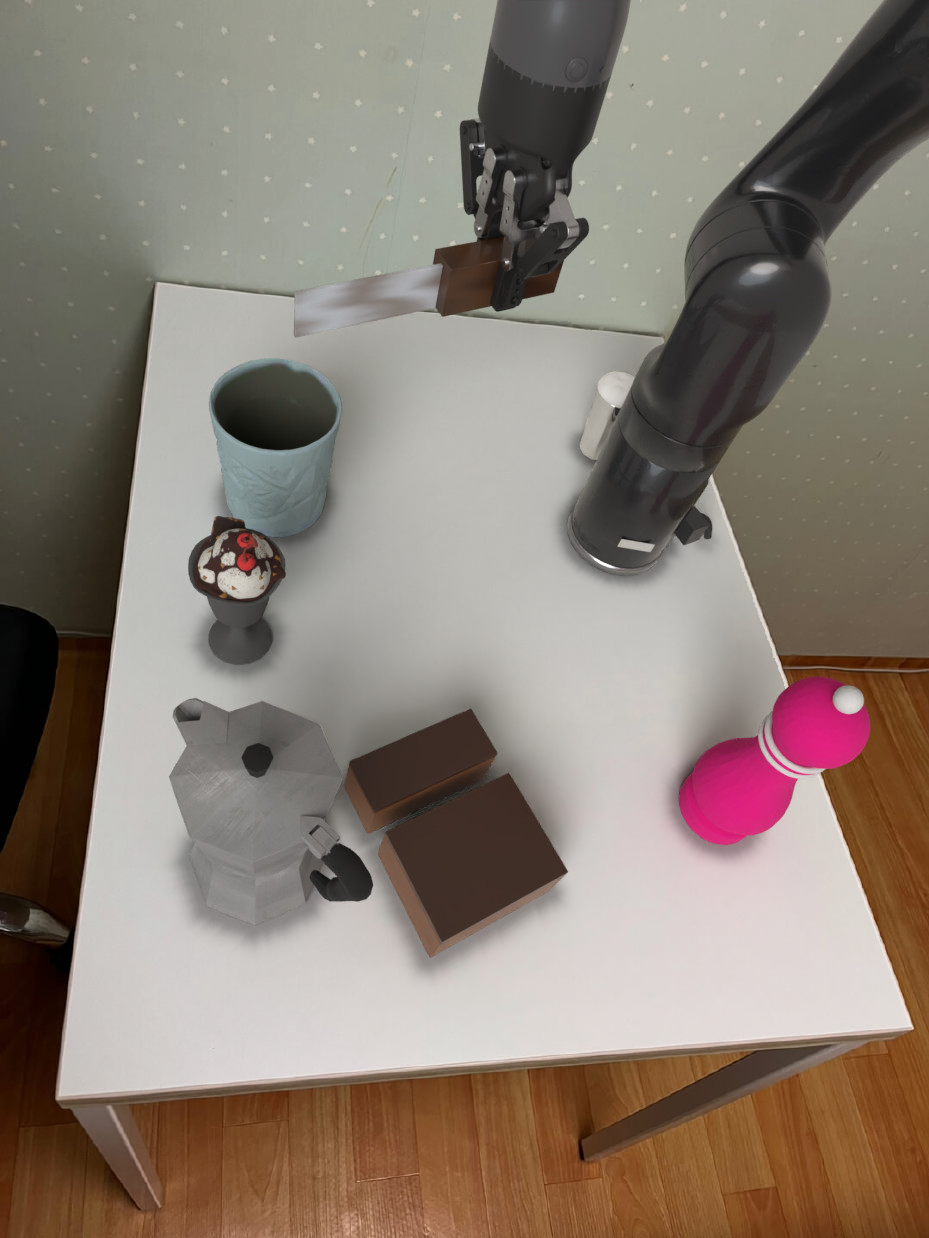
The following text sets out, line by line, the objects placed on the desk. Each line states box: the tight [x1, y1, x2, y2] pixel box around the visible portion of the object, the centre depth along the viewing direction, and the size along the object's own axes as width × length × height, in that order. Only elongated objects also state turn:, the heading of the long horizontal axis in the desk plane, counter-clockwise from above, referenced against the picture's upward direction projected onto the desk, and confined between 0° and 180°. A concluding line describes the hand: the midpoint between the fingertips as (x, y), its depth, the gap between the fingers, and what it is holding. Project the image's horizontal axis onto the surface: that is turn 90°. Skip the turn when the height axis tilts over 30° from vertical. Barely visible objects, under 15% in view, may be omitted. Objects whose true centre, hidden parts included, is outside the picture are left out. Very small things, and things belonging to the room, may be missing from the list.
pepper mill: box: [678, 676, 871, 846], centre depth 61 cm, size 7×7×20 cm
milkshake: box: [578, 371, 635, 461], centre depth 84 cm, size 4×5×10 cm
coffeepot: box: [168, 697, 374, 926], centre depth 53 cm, size 15×9×18 cm, turn 49°
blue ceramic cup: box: [208, 358, 343, 538], centre depth 72 cm, size 10×10×12 cm
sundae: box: [187, 515, 287, 666], centre depth 63 cm, size 7×7×15 cm
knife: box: [293, 237, 565, 339], centre depth 62 cm, size 21×2×4 cm, turn 119°
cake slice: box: [343, 708, 499, 835], centre depth 63 cm, size 10×4×5 cm, turn 120°
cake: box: [377, 772, 569, 959], centre depth 61 cm, size 10×8×5 cm
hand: (493, 293), depth 65 cm, fingers closed on knife, 2 cm apart
